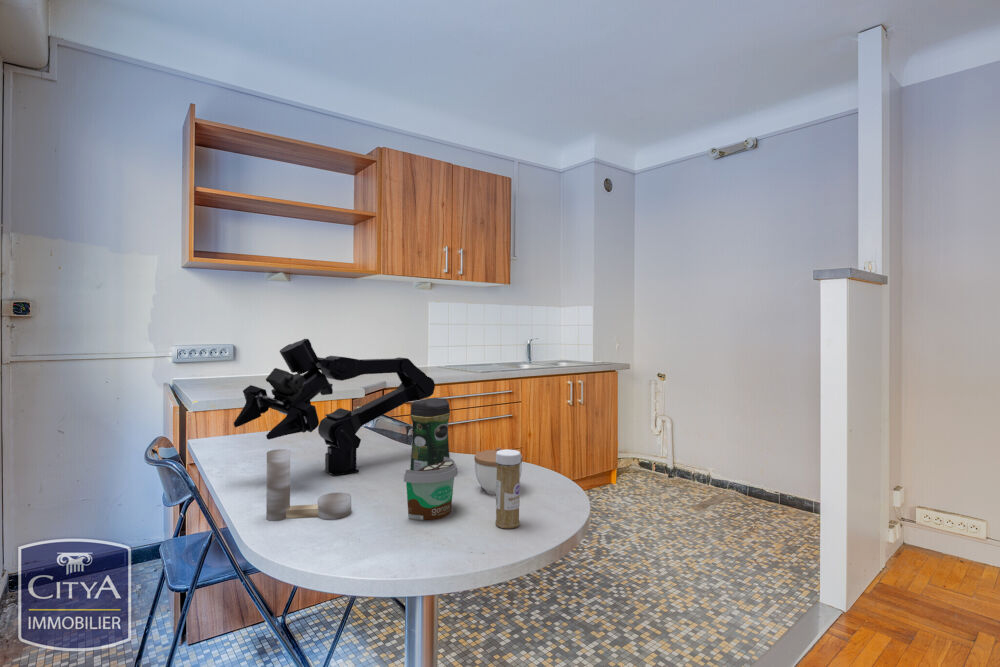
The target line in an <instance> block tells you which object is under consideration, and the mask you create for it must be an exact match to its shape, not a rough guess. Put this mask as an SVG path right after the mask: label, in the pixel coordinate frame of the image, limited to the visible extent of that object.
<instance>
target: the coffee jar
mask: <svg viewBox="0 0 1000 667" xmlns="http://www.w3.org/2000/svg"><path fill="white" fill-rule="evenodd" d="M409 415H410V416H409V417H410V419H411V423H412V424H411V425H412V442H411V443H412V444H411V454H410V455H411V456H410V469H409V470H412V471H417V470H419V469H421V468H423V467H425V466H427V465H434V464H438V463H440V462H443V461H444V457H448V458H450V445H449V420H450V415H451V411H450V402H449V401H448V400H447V399H446V398H441V397H430V398H429V397H428V398H424V399H421V400H417V401H412V403H411V404H410V414H409Z"/></svg>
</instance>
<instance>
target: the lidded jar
mask: <svg viewBox="0 0 1000 667" xmlns="http://www.w3.org/2000/svg"><path fill="white" fill-rule="evenodd" d="M499 450H502V447H496V449H488V450H482V451H478V452H477V453H475V454H474V460H473V461H474V470H475V471H474V472H475V477H476V480H477V483H478V484H479V486H481V487H482V488H483V490H484V492H485V491H486V492H485V493H487V492H488V494H490V493H491V494H490V495H496V478H497V464H496V452H497V451H499ZM523 461H524V456H523V455H522V454H521V462H520V465H519V466H520V474H519V475H520V476H519V477H520V478H521V477H522V476H521V475H522V472H523Z"/></svg>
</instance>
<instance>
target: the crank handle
mask: <svg viewBox="0 0 1000 667" xmlns="http://www.w3.org/2000/svg"><path fill="white" fill-rule="evenodd" d="M265 502H266V518H265V519H266V520H267V521H272V522H275V521H282V520H286V519H302V518H320V519H321V520H339V519H344V518H347V517H348V516H350V515H351V514H352V495H351V494H350V493H347V492H331V493H330V492H329V493H325V494H322V495H320V496H319V497H318V498H317V504H315V503H314V504H299V505H297V504H295V505H291V450H290V449H283V448H282V449H281V448H279V449H272V450H268V451H267V452H266V501H265Z"/></svg>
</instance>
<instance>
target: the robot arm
mask: <svg viewBox="0 0 1000 667" xmlns="http://www.w3.org/2000/svg"><path fill="white" fill-rule="evenodd" d="M279 354H280V355H281V357H282V359H283V360H284V362H285V364H286V366H287V367H288V369H289V370H290V372H289V371H287V370H285V369H284V370H283V369H280V368H277V367H275V368H273V369H272V371H271V372H270V373H269V375H267V377H266V378H265V381H266V382H267V383H269V385H271V387H272V388H273V389H271V394H272V395H273V396H274V397H270V396H268V393H267V390H266V389H264V388H262V387H258V386H255V385H252V384H250V385H248V386H247V387H246V388H244V389H243V390H242V393H243V395H244V400H245V404H244V406H243V408H242V409H241V410H240V413H239V414H238V416H237V417H236V419H234V421H233V426H234V428H238V427H242V426H243V425H245V424H247V423H248V424H249V422H252V421H254V420H257V419H259V418H260V417H262V414H265V413H267V412H268V411H269V409H271V410H275V411H278V413H279V414H282V415H285V417H284V418H283V419H282V420H280V421H279V423H277V424H276V425H274V427H273V428H271V430H270V431H269V432H268V433H267V434H266V435H265V437H266V440H273V439H275V438H276V439H277V438H280V437H284V436H287V435H294V434H299V433H304V434H305V433H306V432H309V433H312V432H313V431H315V430H316V429H317V428H318V429H317V432H318V435H319V436H320V437H321V438H322V439H323V440H324V444H325V445H327V452H326V453H325V454H324V456H325V457H324V459H325V460H324V470H325V471H326V472H327V473H328V474H330V475H331V476H334V477H335V476H340V475H346V474H348V475H349V474H352V473H358V472H359V471H360V469H359V468H358V467H357V449H359V447H360V445H361V444H360V443H361V440H362V439H361V438H360V437H359V436H358V435H357V433H358V432H359V430H360V429H361V427H363V426H364V425H366V424H368V423H370V422H372V421H374V420H376V419H378V418H380V417H382V416H383V415H385V414H388V413H389V412H391V411H393V410H395V409H396V408H399V407H400V406H402V405H404V404H407V403H409V402H414V401H419V400H424V399H429V397H430V398H431V396H432V395H434V392H435V387H436V385H435V380H434V379H433V378H432V377H430V376H428V375H427V374H426V373H425V372H424V371H422V370H421V369H420V368H419V367H418V366H416V365H415V364H414V363H413V362H412V360H410V359H409V358H408V357H407V358H406V357H396V358H393V357H392V358H368V359H357V358H352V357H347V356H338V355H329V356H325V357H318V355H317V354H316V352H315V350H314V348H313V346H312V343H311V341H310V339H309V338H304V339H301V340H299V341H295V342H293V343H289V344H287V345H286V346H284V347H282V348H281V349H280V350H279ZM294 373H295V374H294ZM393 373H394V374H395V373H396V375H397V376H398V379H399V381H400V382H401V383H400V384H399V386H398V387H397V388H396V389H393V390H392V391H390V392H386V393H385V394H384V395H382V396H380V397H378V398H376V399H373V400H371V401H369V402H367V403H365V404H363V405H361V406H359V407H357V408H355V409H353V410H348V409H345V408H342V407H339V408H337V409H336V410H334V411H333V412H331V413H326V414H325V417H323V418H322V419H321V420H319V416H318V412H317V408H316V405H313V404H312V400H313V399H314V398H315V397H316V396H318V395H319V394H320V395H321V396H327V395H333V392H334V391H333V383H331V382H329V380H328V379H330V380H336V381H346V380H351V379H354V378H358V377H359V376H363V375H377V374H379V375H380V374H393Z"/></svg>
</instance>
